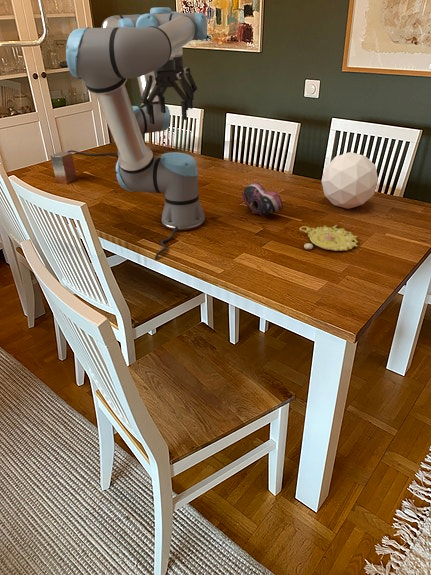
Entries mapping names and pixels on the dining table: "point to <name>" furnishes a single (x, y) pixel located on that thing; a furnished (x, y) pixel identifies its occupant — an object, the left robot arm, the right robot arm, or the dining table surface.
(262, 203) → the athletic shoe
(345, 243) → the decorative object
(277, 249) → the dining table surface
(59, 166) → the block
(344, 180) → the sphere
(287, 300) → the dining table surface
